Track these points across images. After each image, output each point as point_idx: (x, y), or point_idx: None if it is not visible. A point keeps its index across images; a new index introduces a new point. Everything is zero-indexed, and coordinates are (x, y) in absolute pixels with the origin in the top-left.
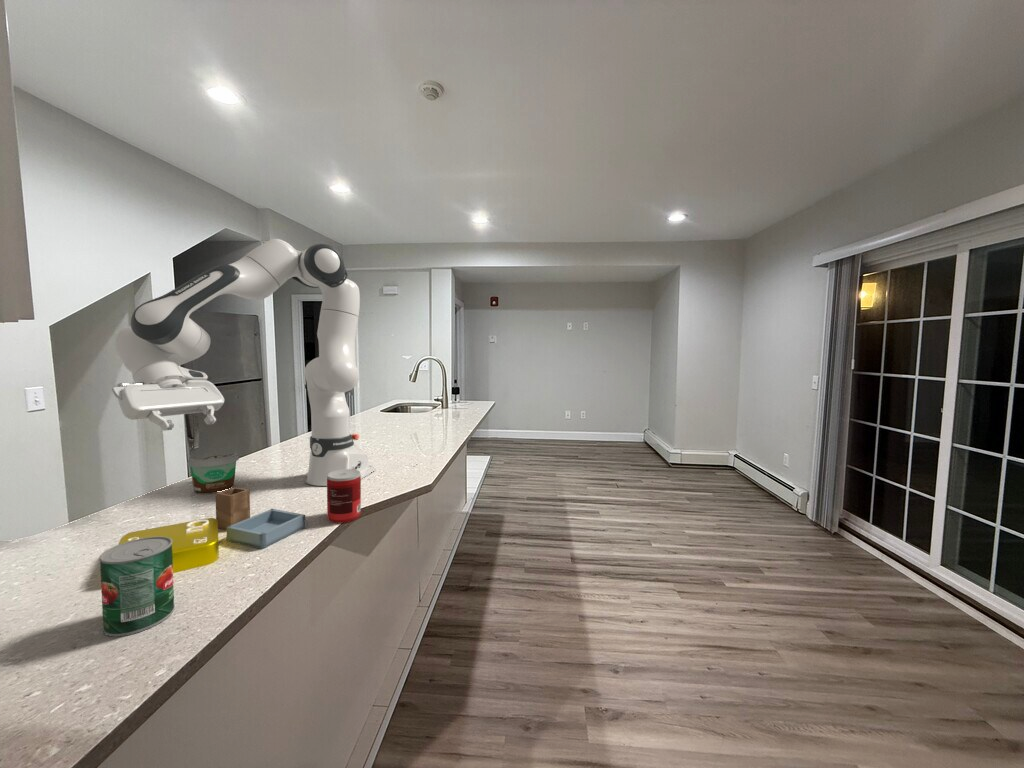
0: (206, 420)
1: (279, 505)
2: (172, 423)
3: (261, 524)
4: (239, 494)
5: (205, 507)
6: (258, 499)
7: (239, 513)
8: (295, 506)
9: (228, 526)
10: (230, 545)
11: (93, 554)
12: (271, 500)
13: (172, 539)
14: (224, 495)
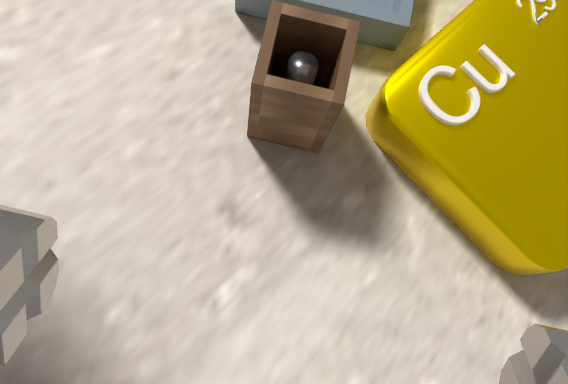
0: (23, 302)
1: (88, 73)
2: (558, 345)
3: None
4: (317, 15)
5: (143, 357)
6: (26, 201)
7: None
8: (93, 10)
9: (403, 24)
10: (415, 22)
11: None
12: (34, 139)
13: (549, 87)
14: (353, 54)
